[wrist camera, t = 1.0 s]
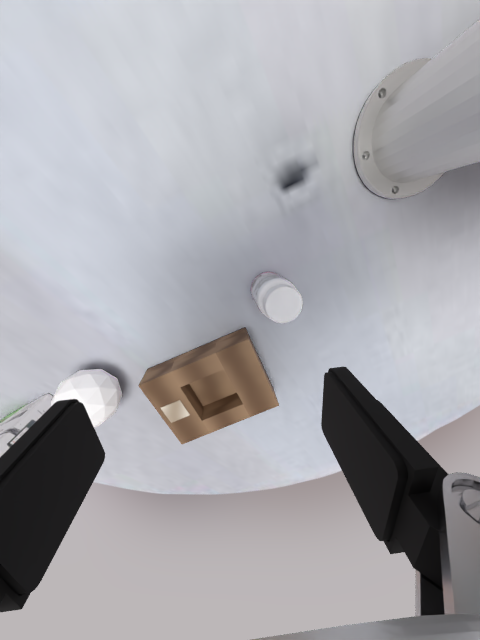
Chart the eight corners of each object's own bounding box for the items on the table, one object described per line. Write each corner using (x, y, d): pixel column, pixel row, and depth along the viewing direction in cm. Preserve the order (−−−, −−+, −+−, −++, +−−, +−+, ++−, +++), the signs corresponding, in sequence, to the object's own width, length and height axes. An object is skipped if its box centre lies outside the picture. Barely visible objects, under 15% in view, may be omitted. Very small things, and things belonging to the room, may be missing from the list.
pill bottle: (286, 300, 31) (309, 321, 23) (253, 308, 31) (265, 332, 23) (281, 267, 30) (304, 278, 22) (247, 275, 30) (257, 289, 22)
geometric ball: (98, 374, 36) (34, 397, 29) (117, 352, 32) (47, 372, 25) (119, 417, 35) (57, 450, 28) (141, 399, 30) (74, 433, 24)
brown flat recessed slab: (245, 327, 32) (248, 339, 28) (273, 388, 36) (279, 405, 33) (147, 369, 33) (138, 386, 29) (185, 423, 37) (181, 444, 34)
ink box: (29, 436, 36) (-56, 524, 24) (4, 415, 34) (-100, 501, 23) (73, 413, 35) (5, 494, 24) (49, 391, 33) (-36, 467, 22)
